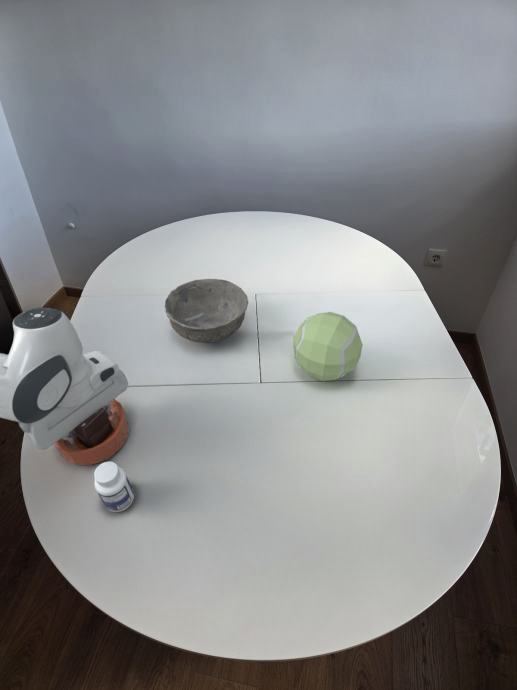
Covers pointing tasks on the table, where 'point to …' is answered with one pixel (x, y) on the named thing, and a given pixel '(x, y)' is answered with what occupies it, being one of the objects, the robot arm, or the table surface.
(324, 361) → the green ball
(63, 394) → the robot arm
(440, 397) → the table surface
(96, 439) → the box
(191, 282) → the bowl
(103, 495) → the pill bottle
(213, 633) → the table surface
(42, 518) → the table surface
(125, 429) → the clay bowl
